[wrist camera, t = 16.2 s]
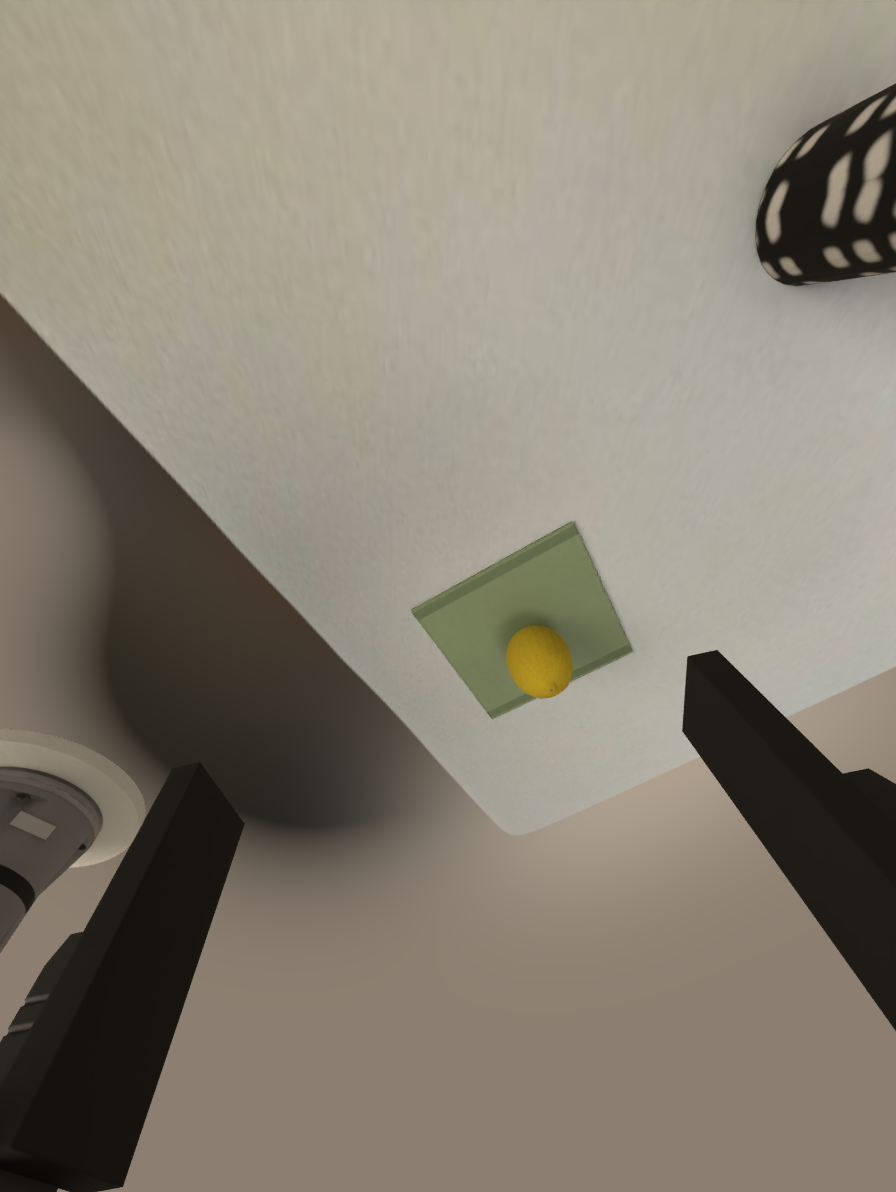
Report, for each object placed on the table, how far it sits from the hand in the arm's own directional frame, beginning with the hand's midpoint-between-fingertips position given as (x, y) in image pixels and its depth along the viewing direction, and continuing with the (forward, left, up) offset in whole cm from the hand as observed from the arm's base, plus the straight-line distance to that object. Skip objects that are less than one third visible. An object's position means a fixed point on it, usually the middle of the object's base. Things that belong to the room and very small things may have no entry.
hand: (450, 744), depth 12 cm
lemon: (+6, -16, -26) cm, 32 cm away
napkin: (+6, -16, -27) cm, 32 cm away
